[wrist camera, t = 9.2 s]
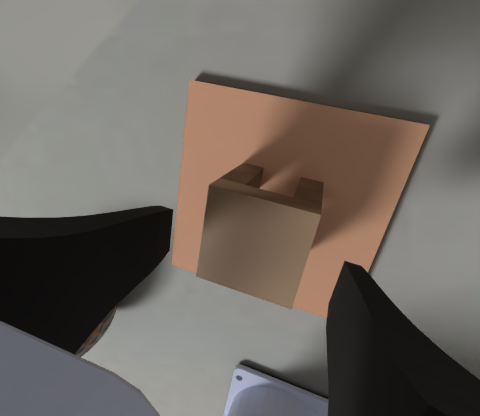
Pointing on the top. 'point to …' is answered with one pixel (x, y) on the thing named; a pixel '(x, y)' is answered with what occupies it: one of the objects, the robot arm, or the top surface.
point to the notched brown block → (258, 235)
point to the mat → (297, 173)
